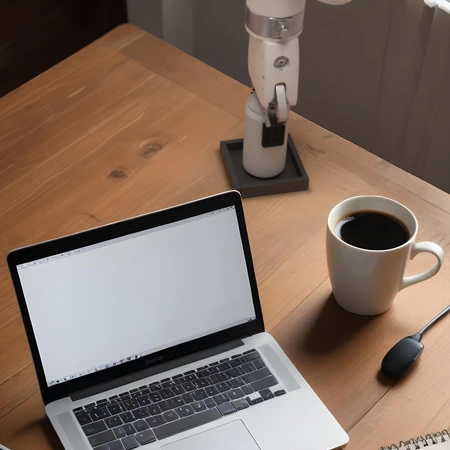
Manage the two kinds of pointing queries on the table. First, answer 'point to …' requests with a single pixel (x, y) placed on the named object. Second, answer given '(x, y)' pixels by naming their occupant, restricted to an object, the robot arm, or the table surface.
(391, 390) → the table surface
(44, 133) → the table surface
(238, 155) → the coaster
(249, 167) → the beverage can
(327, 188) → the table surface
